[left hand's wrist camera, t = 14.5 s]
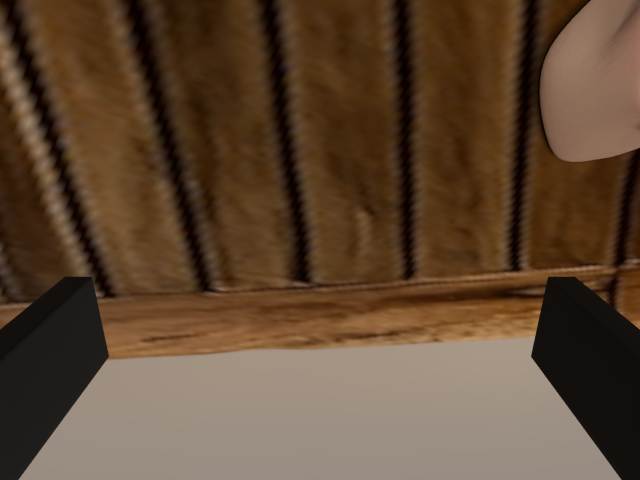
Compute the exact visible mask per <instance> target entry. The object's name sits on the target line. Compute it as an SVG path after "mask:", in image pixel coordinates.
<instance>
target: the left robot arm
mask: <svg viewBox="0 0 640 480" xmlns="http://www.w3.org/2000/svg"><path fill="white" fill-rule="evenodd" d="M108 357H109V355H108V350H107V345H106V341H105V336H104V331H103V327H102V322H101V317H100V313H99V308H98V303H97V299H96V294H95V289H94V285H93V280H92V277H64V278H63V279H62V280H61V281H59V282H58V283H57V284H56V285H55V286H53V287H52V288H51V289H50V290H48V291H47V292H46V293H45V294H43V295H42V296H41V297H40V298H39V299H37V300H36V301H35V302H34V303H32V304H31V305H30V306H29V307H27V308H26V309H25V310H24V311H23V312H21V313H20V314H19V315H18V316H16V317H15V318H14V319H13V320H11V321H10V322H9V323H8V324H7V325H5V326H4V327H3V328H2V329H0V480H18V479H19V478H20V477H21V475H22V474H23V473H24V471H25V470H26V469H27V467H28V466H29V464H30V463H31V462H32V460H33V459H34V458H35V456H36V455H37V454H38V452H39V451H40V450H41V448H42V447H43V446H44V444H45V443H46V441H47V440H48V439H49V437H50V436H51V435H52V433H53V432H54V431H55V429H56V428H57V426H58V425H59V424H60V422H61V421H62V420H63V418H64V417H65V416H66V414H67V413H68V412H69V410H70V409H71V407H72V406H73V405H74V403H75V402H76V401H77V399H78V398H79V397H80V395H81V394H82V392H83V391H84V390H85V388H86V387H87V386H88V384H89V383H90V382H91V380H92V379H93V378H94V376H95V375H96V373H97V372H98V371H99V369H100V368H101V367H102V365H103V364H104V363H105V361H106V360H107V359H108ZM531 357H532V358H533V360H534V361H535V363H536V364H537V365H538V367H539V368H540V369H541V371H542V372H543V373H544V375H545V376H546V378H547V379H548V380H549V382H550V383H551V384H552V386H553V387H554V388H555V390H556V391H557V392H558V394H559V395H560V397H561V398H562V399H563V401H564V402H565V403H566V405H567V406H568V407H569V409H570V410H571V411H572V413H573V414H574V416H575V417H576V418H577V420H578V421H579V422H580V424H581V425H582V426H583V428H584V429H585V431H586V432H587V433H588V435H589V436H590V437H591V439H592V440H593V441H594V443H595V444H596V446H597V447H598V448H599V450H600V451H601V452H602V454H603V455H604V456H605V458H606V459H607V460H608V462H609V463H610V464H611V466H612V467H613V469H614V470H615V471H616V473H617V474H618V475H619V477H620V478H621V480H640V329H638V328H637V327H636V326H635V325H633V324H632V323H631V322H630V321H629V320H627V319H626V318H625V317H624V316H622V315H621V314H620V313H619V312H617V311H616V310H615V309H614V308H613V307H611V306H610V305H609V304H608V303H606V302H605V301H604V300H603V299H601V298H600V297H599V296H598V295H597V294H595V293H594V292H593V291H592V290H590V289H589V288H588V287H587V286H585V285H584V284H583V283H582V282H581V281H579V280H578V279H577V278H576V277H548V280H547V285H546V289H545V294H544V299H543V303H542V308H541V313H540V317H539V322H538V327H537V331H536V336H535V341H534V345H533V350H532V355H531Z"/></svg>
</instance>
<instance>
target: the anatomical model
mask: <svg viewBox="0 0 640 480" xmlns="http://www.w3.org/2000/svg"><path fill="white" fill-rule="evenodd" d="M540 107H541V113H542V120H543V125H544V129H545V133H546V137H547V140H548V143H549V145H550V147H551V149H552V151H553V152H554V154H555V155H556V156H557V157H558V158H560V159H562V160H564V161H571V162H579V161H589V160H595V159H601V158H607V157H612V156H616V155H619V154H622V153H625V152H628V151H631V150H634V149H637V148H640V0H591V1H590V2H589V3H588V4H587V5H586V6H584V7H583V8H582V10H581V11H580V12H579V13H578V14H577V15H576V16H575V17H574V18H573V19H572V20H571V21H570V22H569V23H568V25H567V26H566V27H565V28H564V29H563V30H562V31H561V33H560V34H559V35H558V37H557V38H556V39H555V41H554V43H553V44H552V46H551V47H550V49H549V51H548V53H547V55H546V58H545V60H544V64H543V68H542V71H541V79H540Z"/></svg>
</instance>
